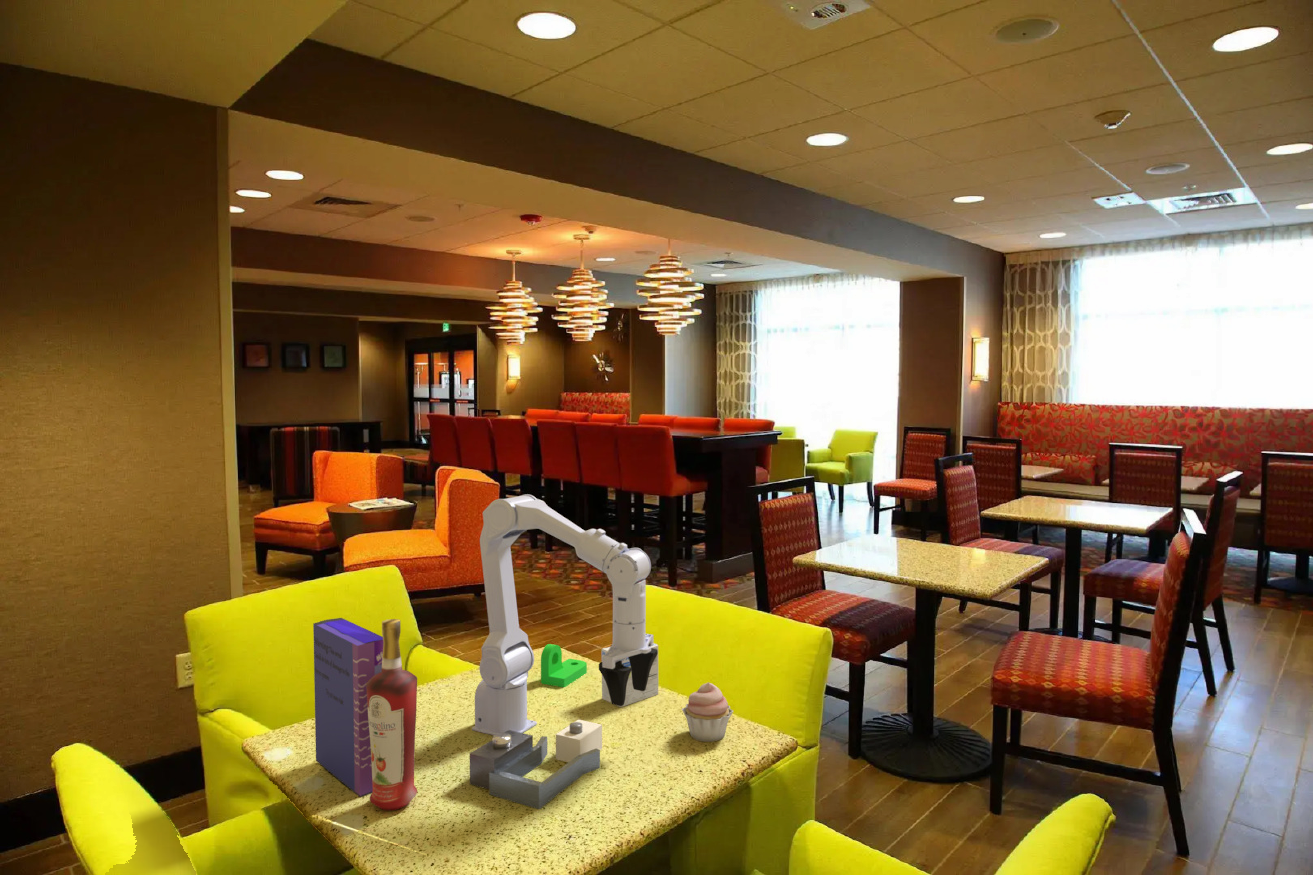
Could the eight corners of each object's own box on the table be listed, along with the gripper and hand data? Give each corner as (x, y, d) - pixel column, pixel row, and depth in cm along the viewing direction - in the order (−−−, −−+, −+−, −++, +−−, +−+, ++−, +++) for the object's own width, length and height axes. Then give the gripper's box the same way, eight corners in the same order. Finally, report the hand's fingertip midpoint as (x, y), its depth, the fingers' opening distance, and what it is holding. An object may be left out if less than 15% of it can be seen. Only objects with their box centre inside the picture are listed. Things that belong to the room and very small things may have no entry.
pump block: (555, 760, 130) (555, 727, 130) (578, 744, 136) (578, 712, 136) (580, 766, 128) (580, 733, 128) (602, 749, 134) (601, 718, 134)
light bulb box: (638, 686, 164) (638, 637, 164) (659, 695, 159) (659, 644, 159) (600, 699, 157) (599, 647, 157) (620, 708, 152) (620, 655, 152)
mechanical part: (564, 688, 164) (564, 651, 164) (540, 683, 166) (540, 648, 166) (591, 670, 175) (591, 636, 175) (569, 667, 177) (568, 633, 177)
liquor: (357, 811, 113) (354, 626, 112) (387, 788, 120) (384, 613, 119) (400, 818, 111) (397, 630, 110) (428, 794, 118) (426, 616, 117)
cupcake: (696, 751, 133) (696, 694, 133) (673, 730, 142) (673, 677, 141) (742, 741, 137) (742, 686, 137) (717, 722, 146) (717, 670, 145)
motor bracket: (464, 787, 120) (464, 749, 120) (525, 748, 134) (525, 713, 134) (545, 811, 113) (545, 770, 113) (601, 767, 127) (600, 730, 127)
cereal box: (389, 786, 121) (387, 637, 120) (360, 797, 117) (357, 644, 117) (343, 751, 133) (341, 616, 132) (315, 760, 130) (313, 622, 129)
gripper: (628, 634, 123) (628, 716, 124) (668, 613, 136) (668, 687, 137) (591, 628, 127) (591, 708, 127) (634, 608, 139) (634, 680, 140)
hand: (628, 697), depth 132 cm, fingers open, 7 cm apart
